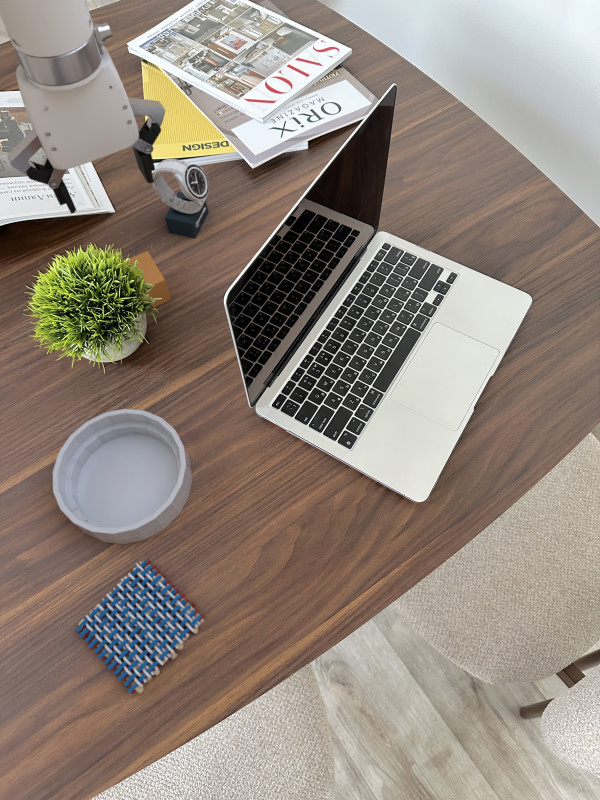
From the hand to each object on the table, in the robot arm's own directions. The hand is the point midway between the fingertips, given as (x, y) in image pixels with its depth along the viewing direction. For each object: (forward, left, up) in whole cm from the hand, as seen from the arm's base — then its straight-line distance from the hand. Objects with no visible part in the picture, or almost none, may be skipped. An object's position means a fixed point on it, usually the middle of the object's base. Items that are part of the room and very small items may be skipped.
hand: (108, 190), depth 74 cm
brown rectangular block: (+1, -1, -19) cm, 18 cm away
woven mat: (-18, -43, -19) cm, 50 cm away
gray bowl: (-13, -27, -19) cm, 35 cm away
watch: (+11, +8, -19) cm, 23 cm away
